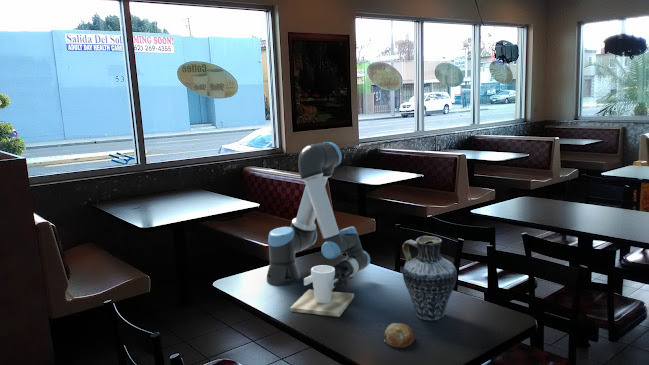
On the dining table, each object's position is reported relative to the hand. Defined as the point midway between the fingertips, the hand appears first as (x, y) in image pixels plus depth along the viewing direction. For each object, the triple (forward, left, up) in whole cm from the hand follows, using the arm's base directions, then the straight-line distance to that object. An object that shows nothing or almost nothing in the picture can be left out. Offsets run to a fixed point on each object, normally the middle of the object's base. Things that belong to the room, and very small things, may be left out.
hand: (316, 284), depth 207 cm
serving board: (+1, +4, -9) cm, 10 cm away
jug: (+43, +3, -10) cm, 44 cm away
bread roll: (+37, -19, -10) cm, 43 cm away
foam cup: (+1, +4, -8) cm, 9 cm away
